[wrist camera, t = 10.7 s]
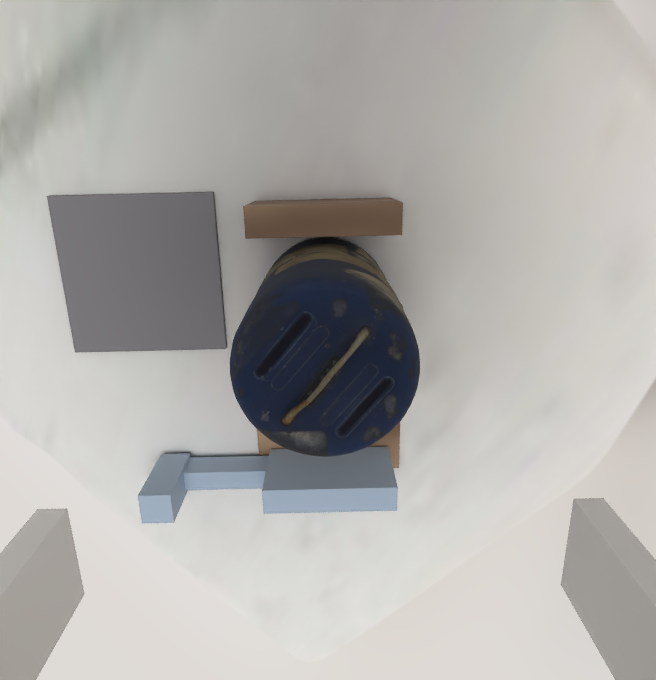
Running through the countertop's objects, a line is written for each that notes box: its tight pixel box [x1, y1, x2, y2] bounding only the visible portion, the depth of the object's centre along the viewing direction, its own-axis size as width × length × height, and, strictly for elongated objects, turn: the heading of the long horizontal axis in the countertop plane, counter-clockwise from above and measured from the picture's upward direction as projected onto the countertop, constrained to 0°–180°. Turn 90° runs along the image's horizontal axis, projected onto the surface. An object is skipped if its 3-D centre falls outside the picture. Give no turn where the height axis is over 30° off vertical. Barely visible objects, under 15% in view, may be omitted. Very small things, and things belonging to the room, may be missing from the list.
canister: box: [230, 238, 420, 457], centre depth 32 cm, size 10×10×18 cm
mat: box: [47, 192, 227, 352], centre depth 40 cm, size 12×12×1 cm
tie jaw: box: [138, 447, 398, 523], centre depth 42 cm, size 3×19×6 cm, turn 91°
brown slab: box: [243, 198, 403, 468], centre depth 39 cm, size 23×12×6 cm, turn 1°
